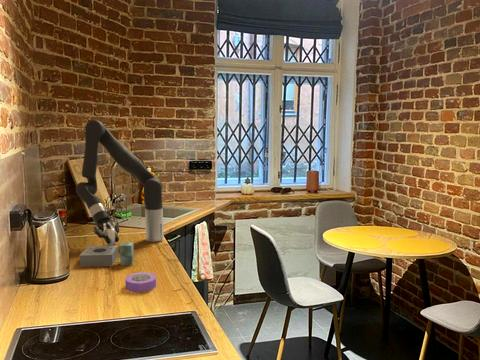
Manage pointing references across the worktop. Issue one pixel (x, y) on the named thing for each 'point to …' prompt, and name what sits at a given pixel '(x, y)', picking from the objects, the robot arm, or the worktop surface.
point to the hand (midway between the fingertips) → (113, 242)
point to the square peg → (126, 253)
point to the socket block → (99, 256)
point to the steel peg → (111, 236)
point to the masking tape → (140, 282)
